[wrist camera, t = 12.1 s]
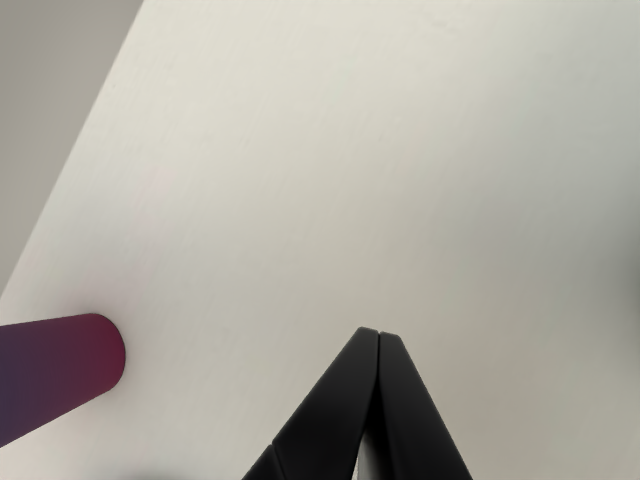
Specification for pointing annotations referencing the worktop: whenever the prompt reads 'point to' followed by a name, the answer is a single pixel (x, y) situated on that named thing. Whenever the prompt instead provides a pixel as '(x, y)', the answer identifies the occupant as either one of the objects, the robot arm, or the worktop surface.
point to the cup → (54, 369)
